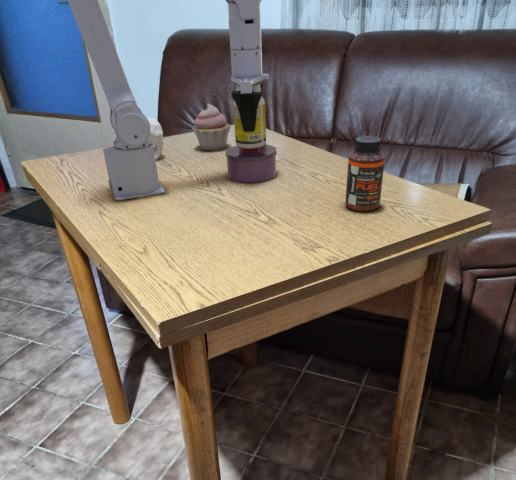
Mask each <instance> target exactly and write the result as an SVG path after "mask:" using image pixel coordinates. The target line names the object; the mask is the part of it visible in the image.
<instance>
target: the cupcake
mask: <svg viewBox="0 0 516 480" xmlns="http://www.w3.org/2000/svg"><path fill="white" fill-rule="evenodd" d="M193 123H194V127H191V130H192V131H193V133H194V135H195V137H196V138H197V141H198V145H199V147H200V149H201V150H203V151H208V152H213V151H221V150H223V149H226V148H227V143H228V138H229V133H230V129H231V125H230V124H229V123H227V117H226V116H225V115H224V114H223V113H221V112H220V110H219V109H218V107H216V106H214V105H212V104H210V103H207V105H206V109H204V110H201V111H200V112H199V113H198V114H197V117H196V118H195V119H194V121H193Z"/></svg>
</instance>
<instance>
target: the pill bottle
mask: <svg viewBox="0 0 516 480" xmlns="http://www.w3.org/2000/svg"><path fill="white" fill-rule="evenodd" d="M235 85H236V90H235V91H241V89H240V85H239V84H237V83H236V84H235ZM252 90H253V92H260V91H261V92H262V90H261V88H260V84H259V83H255V84H254V85H252ZM232 109H233V110H232V112H233V123H234V135H235V136H234V137H235V138H234V139H235V140H234V141H235V146H238V147H241V148H247V149H251V148H258V147H262V146H264V145H265V144H266V145H267V123H266V122H267V121H266V101H265V98H264V97H263V96H261V99H260V101H259V104H258V109H257V116H256V126H255V131H254V132H244V131H243V128H242V123H241V119H240V114H239V111H238V108H237V105H236V103H235V101H234V100H233V102H232Z"/></svg>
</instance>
